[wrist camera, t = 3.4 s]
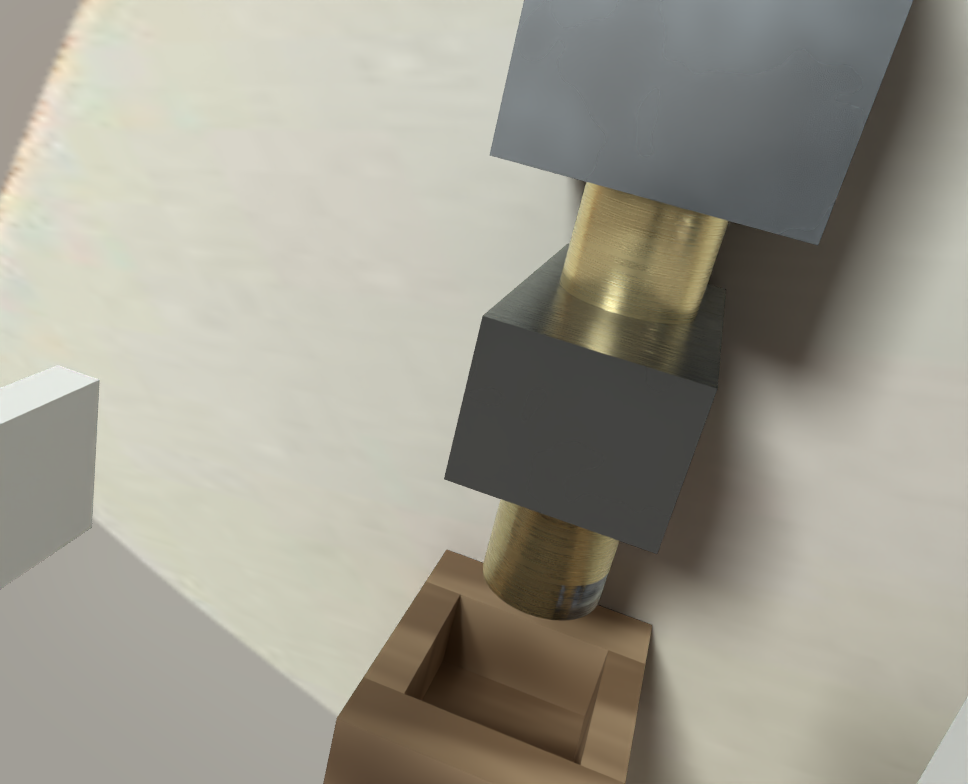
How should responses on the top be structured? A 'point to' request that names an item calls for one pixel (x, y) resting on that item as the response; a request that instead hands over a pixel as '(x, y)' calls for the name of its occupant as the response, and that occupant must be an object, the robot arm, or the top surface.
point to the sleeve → (700, 100)
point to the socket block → (492, 693)
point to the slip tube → (592, 398)
